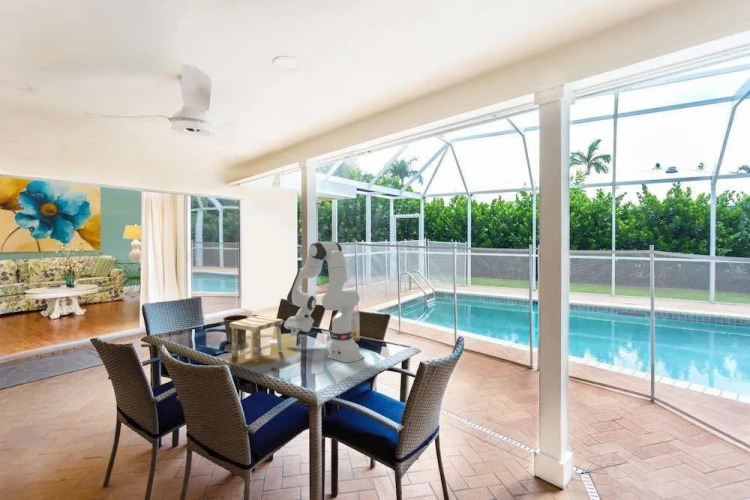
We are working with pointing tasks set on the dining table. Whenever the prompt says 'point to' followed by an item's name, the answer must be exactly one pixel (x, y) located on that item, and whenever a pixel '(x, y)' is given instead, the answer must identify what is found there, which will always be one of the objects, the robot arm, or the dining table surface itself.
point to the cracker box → (355, 325)
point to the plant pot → (229, 330)
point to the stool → (255, 326)
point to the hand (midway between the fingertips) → (292, 335)
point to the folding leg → (279, 338)
